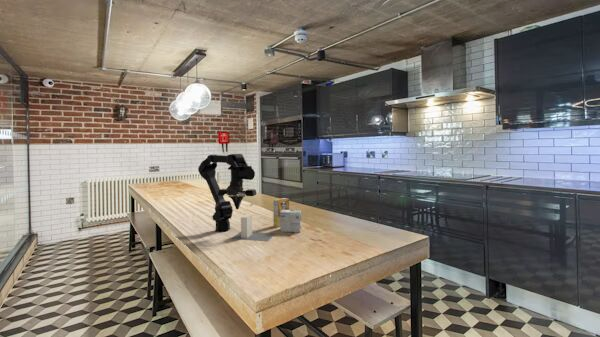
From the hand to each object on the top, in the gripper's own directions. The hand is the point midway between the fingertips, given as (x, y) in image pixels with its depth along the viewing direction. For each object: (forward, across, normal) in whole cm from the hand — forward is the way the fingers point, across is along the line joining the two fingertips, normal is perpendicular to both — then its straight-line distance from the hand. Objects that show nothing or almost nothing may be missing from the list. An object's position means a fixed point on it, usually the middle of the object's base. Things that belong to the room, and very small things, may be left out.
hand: (237, 209), depth 166 cm
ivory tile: (+13, +6, -3) cm, 14 cm away
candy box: (+13, +18, +21) cm, 30 cm away
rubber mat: (+13, +9, -3) cm, 16 cm away
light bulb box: (+13, +26, +11) cm, 31 cm away
